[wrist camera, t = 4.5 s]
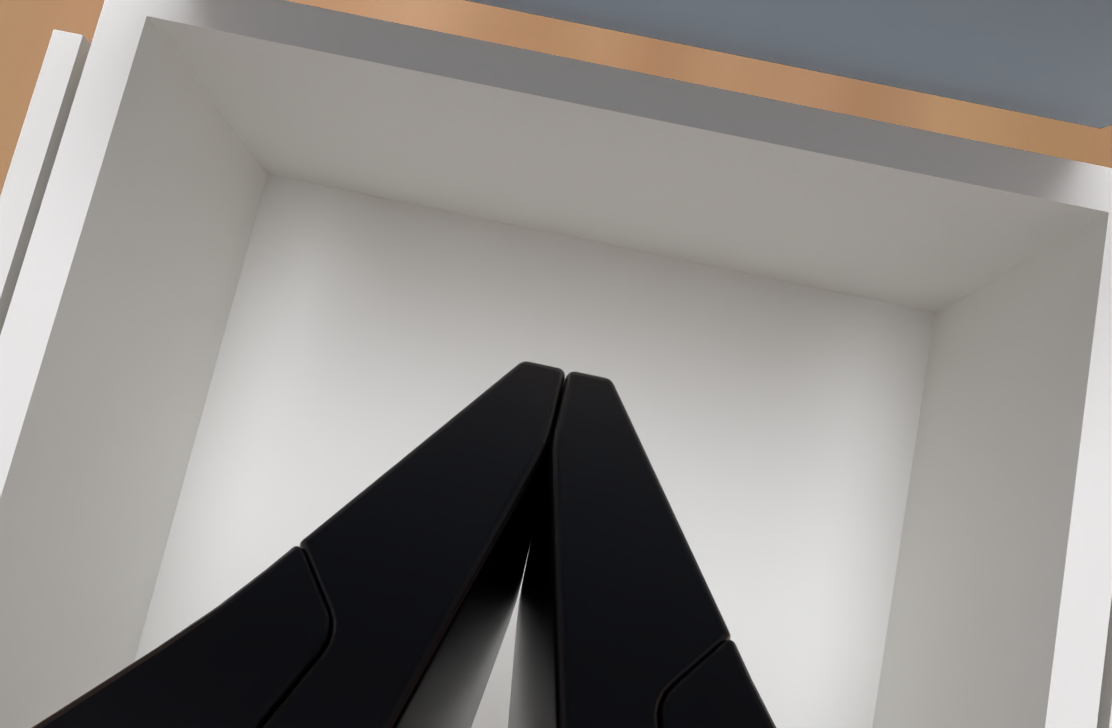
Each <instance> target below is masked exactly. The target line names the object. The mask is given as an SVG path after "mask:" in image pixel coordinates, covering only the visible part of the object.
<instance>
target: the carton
mask: <svg viewBox="0 0 1112 728" xmlns="http://www.w3.org/2000/svg"><path fill="white" fill-rule="evenodd" d="M524 361H528V362H533V363H538V364H543V365H547V366H552V367H557V368H560V369H562V370H563V371H564V373H565V378H566V376H567V375H568V374H569V373H570V372H572V371H576V372H580V373H585V374H590V375H595V376H600V377H604V378H608V379H610V380H611V381H612V382H613V384H614V386H615V388H616V390H617V392H618V394H619V396H620V398H621V401H622V403H623V405H624V407H625V409H626V411H627V413H628V416H629V418H630V420H631V422H632V424H633V426H634V428H635V431H636V433H637V435H638V437H639V439H640V441H641V443H642V446H643V448H644V450H645V452H646V454H647V456H648V458H649V461H650V463H651V465H652V467H653V469H654V471H655V473H656V476H657V478H658V480H659V482H660V484H661V486H662V488H663V491H664V493H665V495H666V497H667V499H668V501H669V503H670V506H671V508H672V510H673V512H674V514H675V516H676V518H677V521H678V523H679V525H680V527H681V529H682V531H683V533H684V536H685V538H686V540H687V542H688V544H689V546H690V548H691V551H692V553H693V555H694V557H695V559H696V561H697V563H698V566H699V568H700V570H701V572H702V574H703V576H704V578H705V581H706V583H707V585H708V587H709V589H710V591H711V593H712V596H713V598H714V600H715V602H716V604H717V606H718V608H719V611H720V613H721V615H722V617H723V619H724V621H725V623H726V626H727V628H728V630H729V632H730V635H731V637H730V640H732V641H733V642H735V644H736V646H737V648H738V650H739V653H740V655H741V657H742V659H743V661H744V664H745V666H746V668H747V670H748V672H749V674H750V677H751V679H752V681H753V683H754V685H755V687H756V689H757V691H758V693H759V695H760V696H761V698H762V700H763V702H764V704H765V706H766V708H767V710H768V712H769V714H770V716H771V718H772V720H773V722H774V724H775V726H776V728H1112V168H1108V167H1103V166H1098V165H1093V164H1088V163H1083V162H1078V161H1073V160H1068V159H1064V158H1059V157H1054V156H1049V155H1044V154H1039V153H1034V152H1029V151H1024V150H1019V149H1014V148H1009V147H1004V146H999V145H995V144H990V143H985V142H980V141H975V140H970V139H965V138H960V137H955V136H950V135H945V134H940V133H935V132H930V131H925V130H921V129H916V128H911V127H906V126H901V125H896V124H891V123H886V122H881V121H876V120H871V119H866V118H861V117H856V116H852V115H847V114H842V113H837V112H832V111H827V110H822V109H817V108H812V107H807V106H802V105H797V104H792V103H787V102H783V101H778V100H773V99H768V98H763V97H758V96H753V95H748V94H743V93H738V92H733V91H728V90H723V89H718V88H714V87H709V86H704V85H699V84H694V83H689V82H684V81H679V80H674V79H669V78H664V77H659V76H654V75H649V74H644V73H640V72H635V71H630V70H625V69H620V68H615V67H610V66H605V65H600V64H595V63H590V62H585V61H580V60H575V59H571V58H566V57H561V56H556V55H551V54H546V53H541V52H536V51H531V50H526V49H521V48H516V47H511V46H506V45H502V44H497V43H492V42H487V41H482V40H477V39H472V38H467V37H462V36H457V35H452V34H447V33H442V32H437V31H432V30H428V29H423V28H418V27H413V26H408V25H403V24H398V23H393V22H388V21H383V20H378V19H373V18H368V17H363V16H359V15H354V14H349V13H344V12H339V11H334V10H329V9H324V8H319V7H314V6H309V5H304V4H299V3H294V2H290V1H285V0H105V1H104V5H103V8H102V11H101V14H100V17H99V21H98V24H97V27H96V30H95V34H94V37H93V40H92V43H90V42H89V41H88V40H87V39H86V38H85V37H84V36H83V35H79V34H75V33H70V32H65V31H60V30H55V29H54V30H53V33H52V36H51V39H50V43H49V46H48V49H47V52H46V55H45V58H44V61H43V65H42V68H41V71H40V74H39V77H38V80H37V83H36V86H35V90H34V93H33V96H32V99H31V102H30V105H29V108H28V111H27V115H26V118H25V121H24V124H23V127H22V130H21V133H20V136H19V140H18V143H17V146H16V149H15V152H14V155H13V158H12V162H11V165H10V168H9V171H8V174H7V177H6V180H5V183H4V187H3V190H2V193H1V196H0V728H32V727H33V726H35V725H36V724H38V723H39V722H41V721H43V720H44V719H46V718H47V717H49V716H50V715H52V714H53V713H55V712H57V711H58V710H60V709H61V708H63V707H64V706H66V705H68V704H69V703H71V702H72V701H74V700H75V699H77V698H79V697H80V696H82V695H83V694H85V693H86V692H88V691H89V690H91V689H93V688H94V687H96V686H97V685H99V684H100V683H102V682H104V681H105V680H107V679H108V678H110V677H111V676H113V675H115V674H116V673H118V672H119V671H121V670H122V669H124V668H125V667H127V666H129V665H130V664H132V663H133V662H135V661H136V660H138V659H140V658H141V657H143V656H144V655H146V654H147V653H149V652H151V651H152V650H154V649H155V648H157V647H158V646H160V645H161V644H163V643H164V642H166V641H167V640H169V639H170V638H172V637H173V636H175V635H176V634H177V633H179V632H180V631H182V630H183V629H185V628H186V627H188V626H189V625H191V624H192V623H194V622H195V621H197V620H198V619H200V618H201V617H203V616H204V615H206V614H207V613H209V612H210V611H212V610H213V609H215V608H216V607H217V606H219V605H220V604H221V603H223V602H224V601H225V600H227V599H228V598H229V597H231V596H232V595H233V594H234V593H236V592H237V591H238V590H240V589H241V588H242V587H244V586H245V585H246V584H248V583H249V582H250V581H251V580H253V579H254V578H255V577H257V576H258V575H259V574H261V573H262V572H263V571H265V570H266V569H267V568H268V567H270V566H271V565H272V564H273V563H274V562H276V561H277V560H278V559H279V558H280V557H282V556H283V555H284V554H285V553H286V552H288V551H289V550H290V549H291V548H293V547H294V546H299V547H300V543H301V541H302V540H303V539H304V538H306V537H307V536H308V535H309V534H311V533H312V532H313V531H314V530H315V529H317V528H318V527H319V526H320V525H322V524H323V523H324V522H325V521H326V520H328V519H329V518H330V517H331V516H333V515H334V514H335V513H336V512H338V511H339V510H340V509H341V508H342V507H344V506H345V505H346V504H347V503H349V502H350V501H351V500H352V499H353V498H355V497H356V496H357V495H358V494H360V493H361V492H362V491H363V490H365V489H366V488H367V487H368V486H369V485H371V484H372V483H373V482H374V481H376V480H377V479H378V478H379V477H380V476H382V475H383V474H384V473H385V472H387V471H388V470H389V469H390V468H392V467H393V466H394V465H395V464H396V463H398V462H399V461H400V460H401V459H403V458H404V457H405V456H406V455H407V454H409V453H410V452H411V451H412V450H414V449H415V448H416V447H417V446H418V445H420V444H421V443H422V442H423V441H425V440H426V439H427V438H428V437H430V436H431V435H432V434H433V433H434V432H436V431H437V430H438V429H439V428H441V427H442V426H443V425H444V424H445V423H447V422H448V421H449V420H450V419H452V418H453V417H454V416H455V415H456V414H458V413H459V412H460V411H461V410H463V409H464V408H465V407H466V406H468V405H469V404H470V403H471V402H472V401H474V400H475V399H476V398H477V397H479V396H480V395H481V394H482V393H483V392H485V391H486V390H487V389H488V388H490V387H491V386H492V385H493V384H494V383H496V382H497V381H498V380H499V379H501V378H502V377H503V376H504V375H506V374H507V373H508V372H509V371H510V370H512V369H513V368H514V367H515V366H517V365H518V364H519V363H521V362H524ZM564 382H565V381H564ZM528 552H529V551H528ZM527 557H528V556H527ZM526 562H527V560H526ZM525 567H526V565H525ZM524 572H525V569H524ZM523 577H524V574H523ZM522 582H523V578H522ZM522 582H521V586H520V590H519V594H518V598H517V601H516V604H515V607H514V610H513V613H512V616H511V619H510V623H509V625H508V628H507V631H506V634H505V636H504V639H503V642H502V644H501V647H500V650H499V653H498V655H497V658H496V661H495V664H494V666H493V669H492V672H491V675H490V677H489V680H488V683H487V686H486V688H485V691H484V694H483V697H482V699H481V702H480V705H479V707H478V710H477V713H476V716H475V718H474V721H473V724H472V727H471V728H508V720H509V708H510V695H511V683H512V671H513V659H514V647H515V635H516V623H517V615H518V606H519V598H520V593H521V588H522Z"/></svg>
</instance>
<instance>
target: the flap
mask: <svg viewBox="0 0 1112 728" xmlns="http://www.w3.org/2000/svg"><path fill="white" fill-rule="evenodd" d="M466 1H471V2H476V3H481V4H486V5H491V6H496V7H501V8H506V9H511V10H515V11H520V12H525V13H530V14H535V15H540V16H545V17H550V18H555V19H560V20H565V21H570V22H575V23H580V24H585V25H590V26H595V27H600V28H605V29H610V30H615V31H619V32H624V33H629V34H634V35H639V36H644V37H649V38H654V39H659V40H664V41H669V42H674V43H679V44H684V45H689V46H694V47H699V48H704V49H709V50H714V51H719V52H723V53H728V54H733V55H738V56H743V57H748V58H753V59H758V60H763V61H768V62H773V63H778V64H783V65H788V66H793V67H798V68H803V69H808V70H813V71H818V72H823V73H828V74H832V75H837V76H842V77H847V78H852V79H857V80H862V81H867V82H872V83H877V84H882V85H887V86H892V87H897V88H902V89H907V90H912V91H917V92H922V93H927V94H932V95H936V96H941V97H946V98H951V99H956V100H961V101H966V102H971V103H976V104H981V105H986V106H991V107H996V108H1001V109H1006V110H1011V111H1016V112H1021V113H1026V114H1031V115H1036V116H1040V117H1045V118H1050V119H1055V120H1060V121H1065V122H1070V123H1075V124H1080V125H1085V126H1090V127H1095V128H1104V127H1107V126H1110V125H1112V0H466Z"/></svg>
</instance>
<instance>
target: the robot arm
mask: <svg viewBox="0 0 1112 728" xmlns="http://www.w3.org/2000/svg"><path fill="white" fill-rule="evenodd" d="M564 381H565V382H564ZM528 551H529V552H528ZM527 556H528V557H527ZM526 560H527V562H526ZM525 565H526V567H525ZM524 569H525V572H524ZM523 574H524V577H523ZM522 578H523V582H522ZM521 582H522V588H521V593H520V598H519V606H518V615H517V623H516V635H515V647H514V659H513V671H512V683H511V695H510V708H509V720H508V728H776V726H775V724H774V722H773V720H772V718H771V716H770V714H769V712H768V710H767V708H766V706H765V704H764V702H763V700H762V698H761V696H760V695H759V693H758V691H757V689H756V687H755V685H754V683H753V681H752V679H751V677H750V674H749V672H748V670H747V668H746V666H745V664H744V661H743V659H742V657H741V655H740V653H739V650H738V648H737V646H736V644H735V642H733V641H732V640H730V637H731V635H730V632H729V630H728V628H727V626H726V623H725V621H724V619H723V617H722V615H721V613H720V611H719V608H718V606H717V604H716V602H715V600H714V598H713V596H712V593H711V591H710V589H709V587H708V585H707V583H706V581H705V578H704V576H703V574H702V572H701V570H700V568H699V566H698V563H697V561H696V559H695V557H694V555H693V553H692V551H691V548H690V546H689V544H688V542H687V540H686V538H685V536H684V533H683V531H682V529H681V527H680V525H679V523H678V521H677V518H676V516H675V514H674V512H673V510H672V508H671V506H670V503H669V501H668V499H667V497H666V495H665V493H664V491H663V488H662V486H661V484H660V482H659V480H658V478H657V476H656V473H655V471H654V469H653V467H652V465H651V463H650V461H649V458H648V456H647V454H646V452H645V450H644V448H643V446H642V443H641V441H640V439H639V437H638V435H637V433H636V431H635V428H634V426H633V424H632V422H631V420H630V418H629V416H628V413H627V411H626V409H625V407H624V405H623V403H622V401H621V398H620V396H619V394H618V392H617V390H616V388H615V386H614V384H613V382H612V381H611V380H610V379H608V378H604V377H600V376H595V375H590V374H585V373H580V372H576V371H572V372H570V373H569V374H568V375H567V376H566V378H565V373H564V371H563V370H562V369H560V368H557V367H552V366H547V365H543V364H538V363H533V362H528V361H524V362H521V363H519V364H518V365H517V366H515V367H514V368H513V369H512V370H510V371H509V372H508V373H507V374H506V375H504V376H503V377H502V378H501V379H499V380H498V381H497V382H496V383H494V384H493V385H492V386H491V387H490V388H488V389H487V390H486V391H485V392H483V393H482V394H481V395H480V396H479V397H477V398H476V399H475V400H474V401H472V402H471V403H470V404H469V405H468V406H466V407H465V408H464V409H463V410H461V411H460V412H459V413H458V414H456V415H455V416H454V417H453V418H452V419H450V420H449V421H448V422H447V423H445V424H444V425H443V426H442V427H441V428H439V429H438V430H437V431H436V432H434V433H433V434H432V435H431V436H430V437H428V438H427V439H426V440H425V441H423V442H422V443H421V444H420V445H418V446H417V447H416V448H415V449H414V450H412V451H411V452H410V453H409V454H407V455H406V456H405V457H404V458H403V459H401V460H400V461H399V462H398V463H396V464H395V465H394V466H393V467H392V468H390V469H389V470H388V471H387V472H385V473H384V474H383V475H382V476H380V477H379V478H378V479H377V480H376V481H374V482H373V483H372V484H371V485H369V486H368V487H367V488H366V489H365V490H363V491H362V492H361V493H360V494H358V495H357V496H356V497H355V498H353V499H352V500H351V501H350V502H349V503H347V504H346V505H345V506H344V507H342V508H341V509H340V510H339V511H338V512H336V513H335V514H334V515H333V516H331V517H330V518H329V519H328V520H326V521H325V522H324V523H323V524H322V525H320V526H319V527H318V528H317V529H315V530H314V531H313V532H312V533H311V534H309V535H308V536H307V537H306V538H304V539H303V540H302V541H301V543H300V547H299V546H294V547H293V548H291V549H290V550H289V551H288V552H286V553H285V554H284V555H283V556H282V557H280V558H279V559H278V560H277V561H276V562H274V563H273V564H272V565H271V566H270V567H268V568H267V569H266V570H265V571H263V572H262V573H261V574H259V575H258V576H257V577H255V578H254V579H253V580H251V581H250V582H249V583H248V584H246V585H245V586H244V587H242V588H241V589H240V590H238V591H237V592H236V593H234V594H233V595H232V596H231V597H229V598H228V599H227V600H225V601H224V602H223V603H221V604H220V605H219V606H217V607H216V608H215V609H213V610H212V611H210V612H209V613H207V614H206V615H204V616H203V617H201V618H200V619H198V620H197V621H195V622H194V623H192V624H191V625H189V626H188V627H186V628H185V629H183V630H182V631H180V632H179V633H177V634H176V635H175V636H173V637H172V638H170V639H169V640H167V641H166V642H164V643H163V644H161V645H160V646H158V647H157V648H155V649H154V650H152V651H151V652H149V653H147V654H146V655H144V656H143V657H141V658H140V659H138V660H136V661H135V662H133V663H132V664H130V665H129V666H127V667H125V668H124V669H122V670H121V671H119V672H118V673H116V674H115V675H113V676H111V677H110V678H108V679H107V680H105V681H104V682H102V683H100V684H99V685H97V686H96V687H94V688H93V689H91V690H89V691H88V692H86V693H85V694H83V695H82V696H80V697H79V698H77V699H75V700H74V701H72V702H71V703H69V704H68V705H66V706H64V707H63V708H61V709H60V710H58V711H57V712H55V713H53V714H52V715H50V716H49V717H47V718H46V719H44V720H43V721H41V722H39V723H38V724H36V725H35V726H33V727H32V728H471V727H472V724H473V721H474V718H475V716H476V713H477V710H478V707H479V705H480V702H481V699H482V697H483V694H484V691H485V688H486V686H487V683H488V680H489V677H490V675H491V672H492V669H493V666H494V664H495V661H496V658H497V655H498V653H499V650H500V647H501V644H502V642H503V639H504V636H505V634H506V631H507V628H508V625H509V623H510V619H511V616H512V613H513V610H514V607H515V604H516V601H517V598H518V594H519V590H520V586H521Z"/></svg>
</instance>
